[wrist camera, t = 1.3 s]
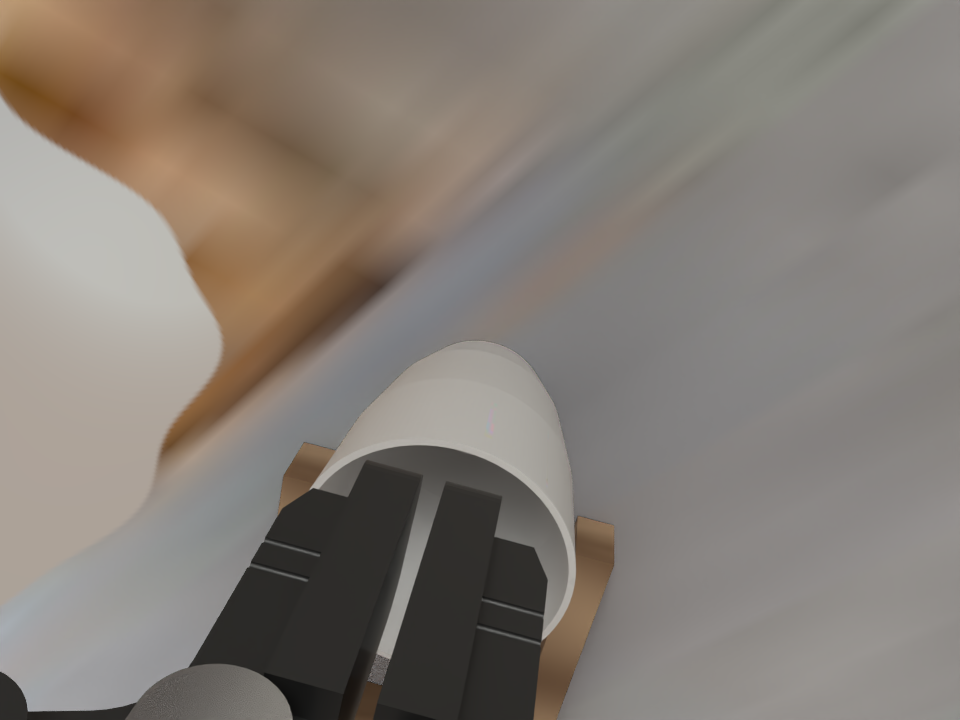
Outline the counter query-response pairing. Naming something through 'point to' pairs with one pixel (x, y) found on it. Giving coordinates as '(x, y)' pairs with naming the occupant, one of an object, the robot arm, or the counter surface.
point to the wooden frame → (563, 640)
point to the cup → (471, 459)
